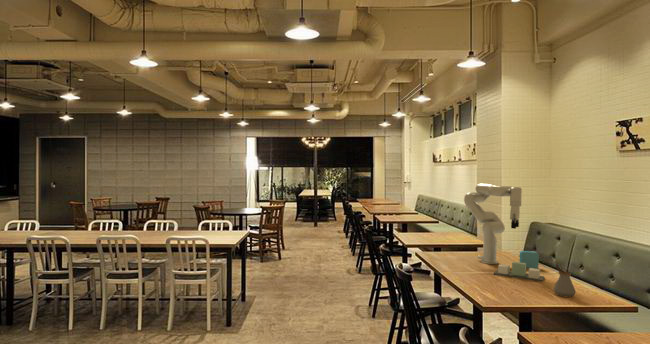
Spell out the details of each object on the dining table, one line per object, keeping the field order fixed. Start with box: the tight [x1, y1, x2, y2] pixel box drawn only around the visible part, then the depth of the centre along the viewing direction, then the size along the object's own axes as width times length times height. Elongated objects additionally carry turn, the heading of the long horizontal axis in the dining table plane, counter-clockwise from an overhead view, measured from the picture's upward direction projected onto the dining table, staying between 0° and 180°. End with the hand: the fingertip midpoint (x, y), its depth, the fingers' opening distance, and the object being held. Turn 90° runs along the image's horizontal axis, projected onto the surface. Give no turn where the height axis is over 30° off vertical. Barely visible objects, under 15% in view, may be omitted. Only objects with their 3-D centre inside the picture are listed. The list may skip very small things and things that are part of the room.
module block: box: [511, 261, 527, 276], centre depth 294 cm, size 8×4×8 cm, turn 56°
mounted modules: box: [497, 263, 541, 279], centre depth 293 cm, size 25×7×5 cm, turn 56°
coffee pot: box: [552, 263, 576, 297], centre depth 257 cm, size 21×12×15 cm, turn 169°
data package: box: [519, 250, 540, 269], centre depth 320 cm, size 12×4×12 cm, turn 83°
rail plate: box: [493, 268, 545, 283], centre depth 293 cm, size 30×10×2 cm, turn 56°
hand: (514, 227), depth 314 cm, fingers open, 9 cm apart
